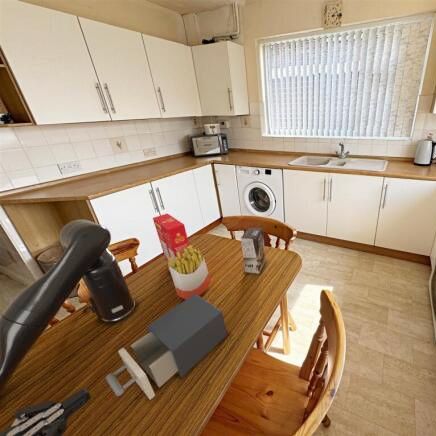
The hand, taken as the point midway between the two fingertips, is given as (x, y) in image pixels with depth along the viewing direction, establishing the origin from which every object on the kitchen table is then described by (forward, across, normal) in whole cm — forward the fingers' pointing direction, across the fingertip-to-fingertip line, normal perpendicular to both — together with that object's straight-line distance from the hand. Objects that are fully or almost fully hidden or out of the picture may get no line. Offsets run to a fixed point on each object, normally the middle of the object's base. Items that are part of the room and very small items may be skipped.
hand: (88, 392), depth 48 cm
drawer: (+12, 0, -8) cm, 15 cm away
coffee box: (+59, -10, -9) cm, 60 cm away
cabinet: (+22, 0, -9) cm, 24 cm away
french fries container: (+35, -17, -9) cm, 40 cm away
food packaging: (+38, -30, -9) cm, 49 cm away
